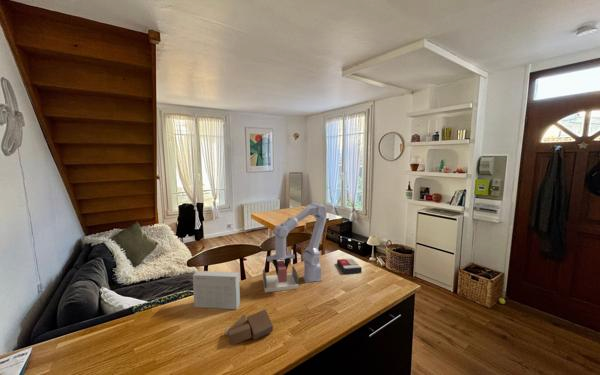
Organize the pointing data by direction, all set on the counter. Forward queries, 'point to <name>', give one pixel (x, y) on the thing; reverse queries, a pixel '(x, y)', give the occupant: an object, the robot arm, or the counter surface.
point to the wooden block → (250, 327)
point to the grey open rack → (274, 285)
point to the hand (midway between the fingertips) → (281, 272)
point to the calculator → (349, 266)
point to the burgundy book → (282, 272)
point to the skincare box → (216, 289)
